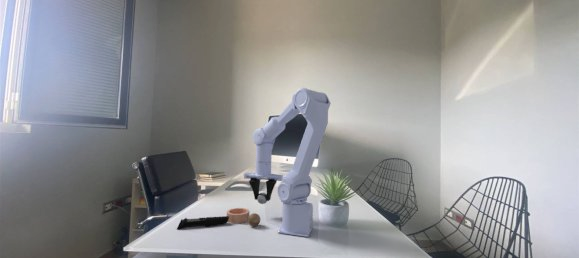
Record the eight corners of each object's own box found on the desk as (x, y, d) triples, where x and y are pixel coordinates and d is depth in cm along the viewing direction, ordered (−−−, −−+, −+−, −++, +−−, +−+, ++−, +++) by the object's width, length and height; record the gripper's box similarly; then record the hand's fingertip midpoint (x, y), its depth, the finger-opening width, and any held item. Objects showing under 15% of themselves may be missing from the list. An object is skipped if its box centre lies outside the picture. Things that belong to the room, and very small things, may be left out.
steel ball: (269, 203, 86) (270, 192, 86) (265, 205, 82) (266, 194, 82) (259, 201, 87) (260, 191, 87) (254, 204, 83) (255, 193, 83)
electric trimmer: (228, 227, 75) (229, 217, 75) (176, 231, 70) (177, 220, 71) (228, 223, 78) (229, 214, 78) (178, 226, 74) (179, 216, 74)
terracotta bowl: (252, 216, 84) (252, 209, 84) (242, 224, 76) (242, 215, 76) (233, 214, 86) (234, 207, 86) (222, 221, 78) (222, 213, 78)
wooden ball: (262, 224, 76) (262, 212, 77) (257, 229, 73) (257, 216, 73) (251, 223, 77) (251, 211, 78) (245, 227, 74) (246, 214, 74)
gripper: (240, 162, 83) (239, 200, 82) (278, 164, 79) (277, 204, 78) (249, 160, 90) (248, 196, 89) (284, 162, 86) (284, 199, 85)
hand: (262, 199), depth 84 cm, fingers closed on steel ball, 4 cm apart
